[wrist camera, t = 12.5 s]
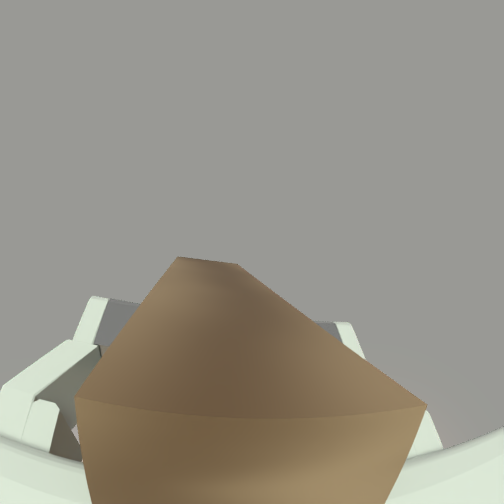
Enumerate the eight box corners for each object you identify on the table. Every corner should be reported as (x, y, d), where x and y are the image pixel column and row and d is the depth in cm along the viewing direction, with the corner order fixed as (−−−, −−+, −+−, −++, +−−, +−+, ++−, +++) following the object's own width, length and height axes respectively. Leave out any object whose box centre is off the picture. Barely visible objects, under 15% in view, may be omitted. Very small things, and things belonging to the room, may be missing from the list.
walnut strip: (100, 536, 3) (73, 396, 3) (173, 293, 21) (177, 256, 21) (369, 529, 3) (427, 405, 3) (232, 300, 22) (237, 263, 22)
